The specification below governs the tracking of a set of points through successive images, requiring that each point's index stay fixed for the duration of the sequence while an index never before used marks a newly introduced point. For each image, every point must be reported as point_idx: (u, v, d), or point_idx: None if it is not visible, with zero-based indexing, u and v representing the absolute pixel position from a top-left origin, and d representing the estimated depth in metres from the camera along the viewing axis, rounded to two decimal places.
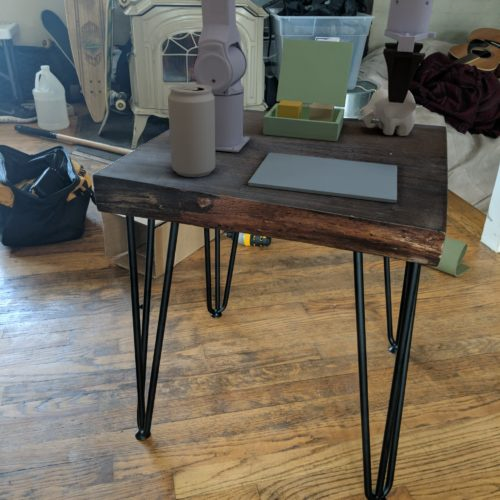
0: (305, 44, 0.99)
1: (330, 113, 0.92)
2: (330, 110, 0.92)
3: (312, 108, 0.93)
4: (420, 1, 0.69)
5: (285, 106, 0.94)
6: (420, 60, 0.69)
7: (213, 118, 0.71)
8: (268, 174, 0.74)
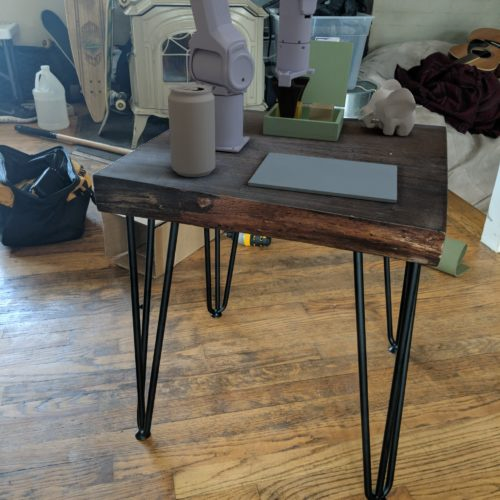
0: None
1: (330, 113, 0.92)
2: (330, 110, 0.92)
3: (312, 108, 0.93)
4: (297, 46, 0.88)
5: None
6: (299, 91, 0.90)
7: (213, 118, 0.71)
8: (268, 174, 0.74)
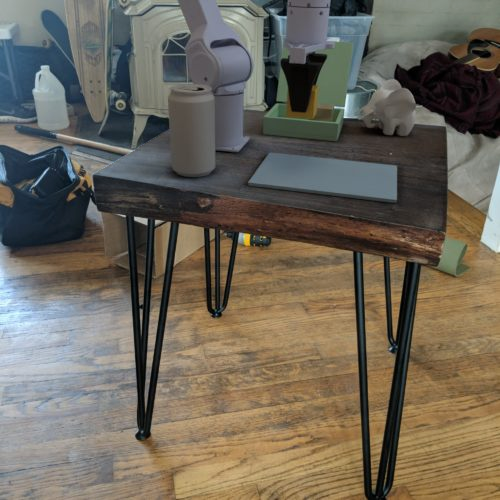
0: None
1: (330, 113, 0.92)
2: (330, 110, 0.92)
3: None
4: (313, 11, 0.67)
5: None
6: (316, 70, 0.69)
7: (213, 118, 0.71)
8: (268, 174, 0.74)
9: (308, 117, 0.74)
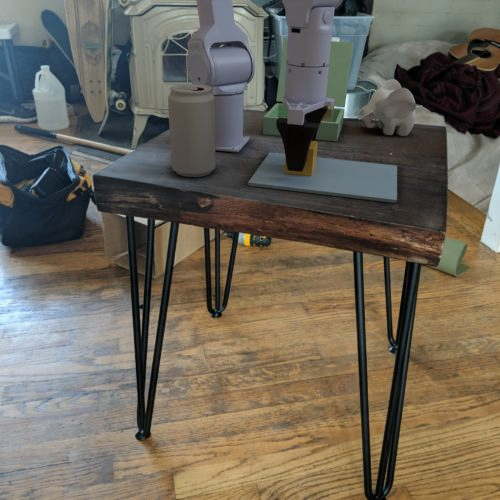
0: None
1: (330, 113, 0.92)
2: (330, 110, 0.92)
3: None
4: (312, 71, 0.66)
5: None
6: (313, 132, 0.67)
7: (213, 118, 0.71)
8: (268, 174, 0.74)
9: (307, 174, 0.74)
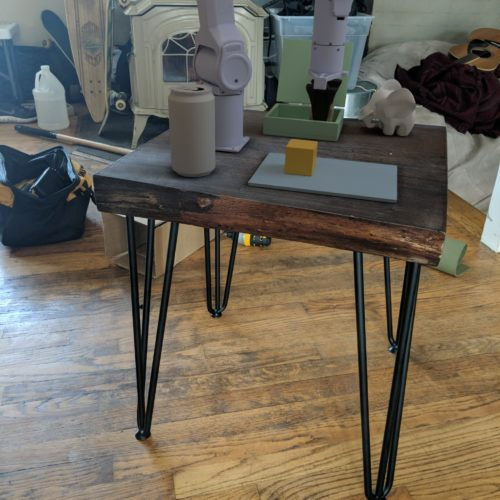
0: (305, 44, 0.99)
1: (330, 113, 0.92)
2: (330, 110, 0.92)
3: None
4: (332, 49, 0.87)
5: (296, 149, 0.72)
6: (333, 93, 0.88)
7: (213, 118, 0.71)
8: (268, 174, 0.74)
9: (307, 174, 0.74)
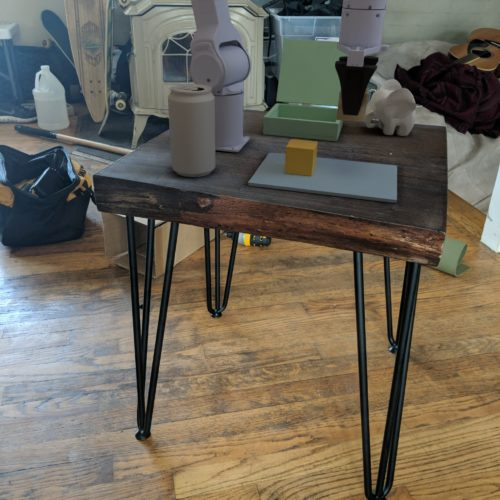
0: (305, 44, 0.99)
1: (365, 99, 0.72)
2: (365, 95, 0.72)
3: None
4: (370, 14, 0.66)
5: (296, 149, 0.72)
6: (371, 73, 0.68)
7: (213, 118, 0.71)
8: (268, 174, 0.74)
9: (307, 174, 0.74)
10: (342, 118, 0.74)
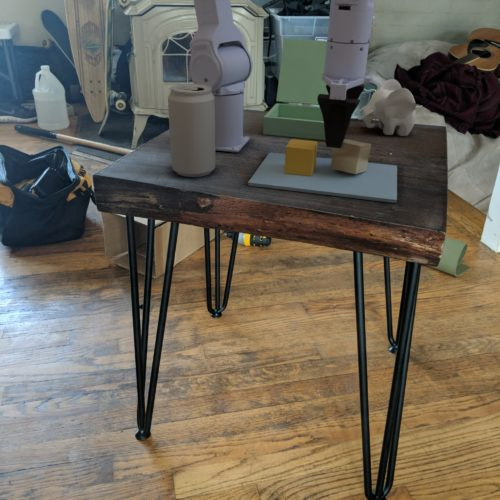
0: (305, 44, 0.99)
1: (358, 151, 0.72)
2: (358, 147, 0.72)
3: None
4: (354, 47, 0.68)
5: (296, 149, 0.72)
6: (354, 107, 0.68)
7: (213, 118, 0.71)
8: (268, 174, 0.74)
9: (307, 174, 0.74)
10: (335, 167, 0.74)
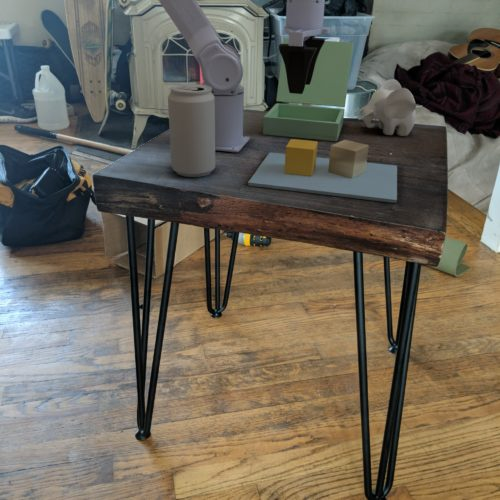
0: None
1: (353, 156, 0.72)
2: (353, 152, 0.72)
3: (333, 147, 0.73)
4: (310, 0, 0.75)
5: (296, 149, 0.72)
6: (311, 54, 0.76)
7: (213, 118, 0.71)
8: (268, 174, 0.74)
9: (307, 174, 0.74)
10: (333, 171, 0.75)
